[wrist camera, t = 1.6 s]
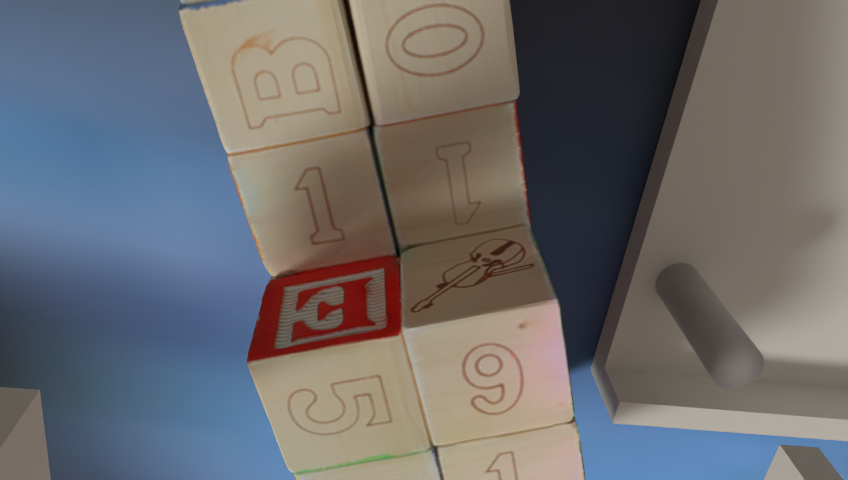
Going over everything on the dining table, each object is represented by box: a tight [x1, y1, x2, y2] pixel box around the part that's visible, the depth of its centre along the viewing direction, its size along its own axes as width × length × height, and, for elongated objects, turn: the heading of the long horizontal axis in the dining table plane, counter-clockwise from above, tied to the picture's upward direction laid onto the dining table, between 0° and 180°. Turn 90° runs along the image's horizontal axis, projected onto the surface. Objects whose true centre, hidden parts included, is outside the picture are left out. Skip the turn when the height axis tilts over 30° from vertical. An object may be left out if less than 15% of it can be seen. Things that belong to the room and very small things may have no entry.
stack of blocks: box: [179, 0, 585, 480], centre depth 19 cm, size 21×6×12 cm, turn 10°
